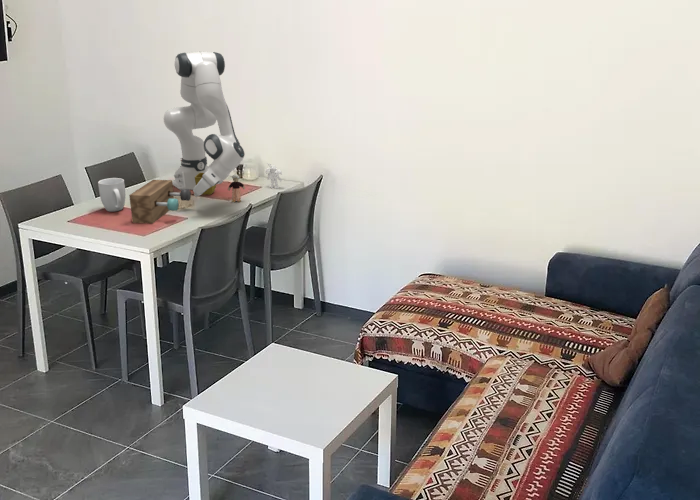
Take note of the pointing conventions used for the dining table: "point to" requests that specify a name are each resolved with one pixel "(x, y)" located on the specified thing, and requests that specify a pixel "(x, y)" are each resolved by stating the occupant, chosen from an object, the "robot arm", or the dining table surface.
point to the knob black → (183, 194)
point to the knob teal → (170, 204)
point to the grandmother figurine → (236, 188)
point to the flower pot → (208, 192)
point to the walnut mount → (150, 201)
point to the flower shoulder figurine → (273, 175)
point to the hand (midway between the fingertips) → (196, 194)
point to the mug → (112, 193)
